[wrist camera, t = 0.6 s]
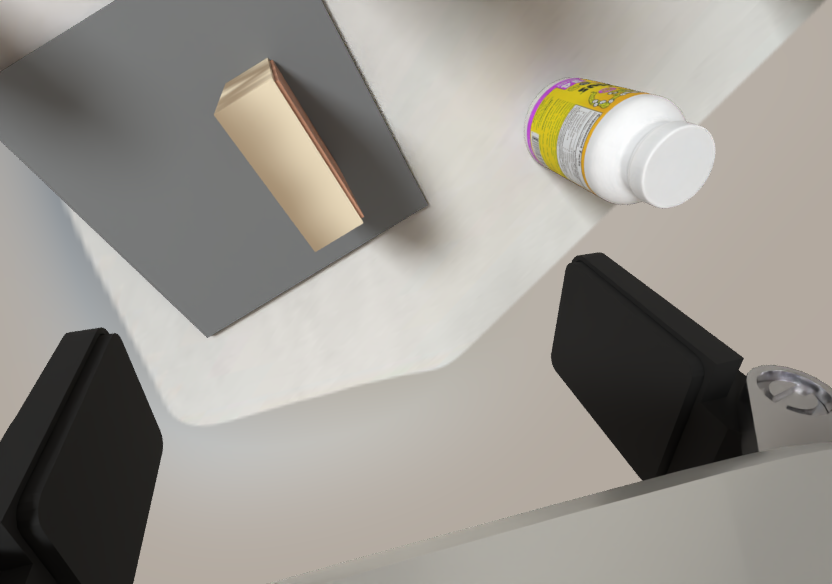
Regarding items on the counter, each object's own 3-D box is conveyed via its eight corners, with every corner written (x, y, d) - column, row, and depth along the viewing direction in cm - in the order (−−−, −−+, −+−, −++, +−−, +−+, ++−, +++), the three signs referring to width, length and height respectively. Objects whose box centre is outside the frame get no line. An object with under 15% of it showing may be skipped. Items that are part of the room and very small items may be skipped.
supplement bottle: (612, 92, 37) (755, 127, 26) (573, 174, 40) (688, 236, 29) (543, 62, 34) (671, 88, 24) (506, 152, 37) (606, 211, 26)
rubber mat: (270, -96, 26) (270, -97, 26) (426, 202, 37) (428, 204, 37) (-39, 97, 26) (-44, 99, 26) (207, 334, 38) (207, 337, 37)
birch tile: (270, 55, 29) (276, 76, 21) (339, 167, 34) (366, 221, 25) (225, 83, 29) (213, 114, 21) (300, 191, 34) (315, 252, 25)
